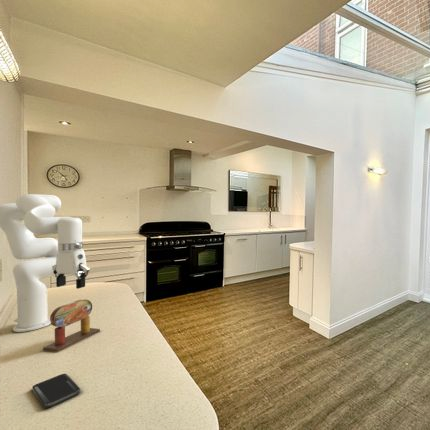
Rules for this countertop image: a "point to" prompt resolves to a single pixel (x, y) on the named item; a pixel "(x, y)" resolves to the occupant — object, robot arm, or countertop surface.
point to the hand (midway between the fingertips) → (70, 286)
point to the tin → (70, 313)
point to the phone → (55, 390)
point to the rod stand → (71, 336)
